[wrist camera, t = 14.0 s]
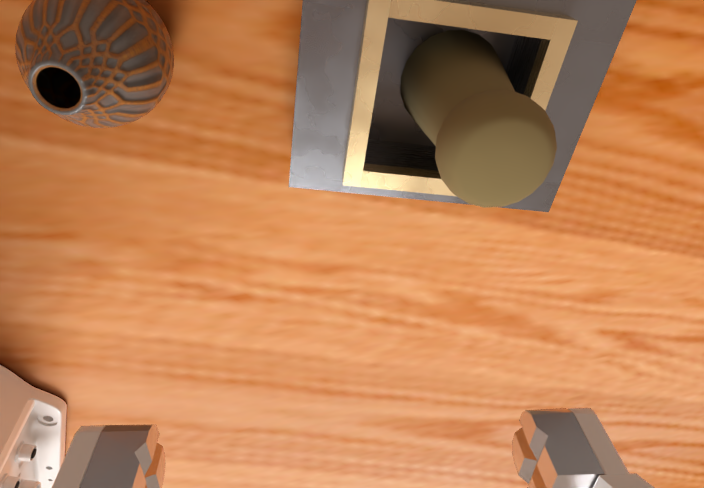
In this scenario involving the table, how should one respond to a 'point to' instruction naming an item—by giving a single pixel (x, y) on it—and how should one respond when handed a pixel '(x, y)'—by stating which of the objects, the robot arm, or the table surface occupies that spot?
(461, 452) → the table surface
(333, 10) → the grey rectangular box
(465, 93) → the cork
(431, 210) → the table surface
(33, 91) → the vase
